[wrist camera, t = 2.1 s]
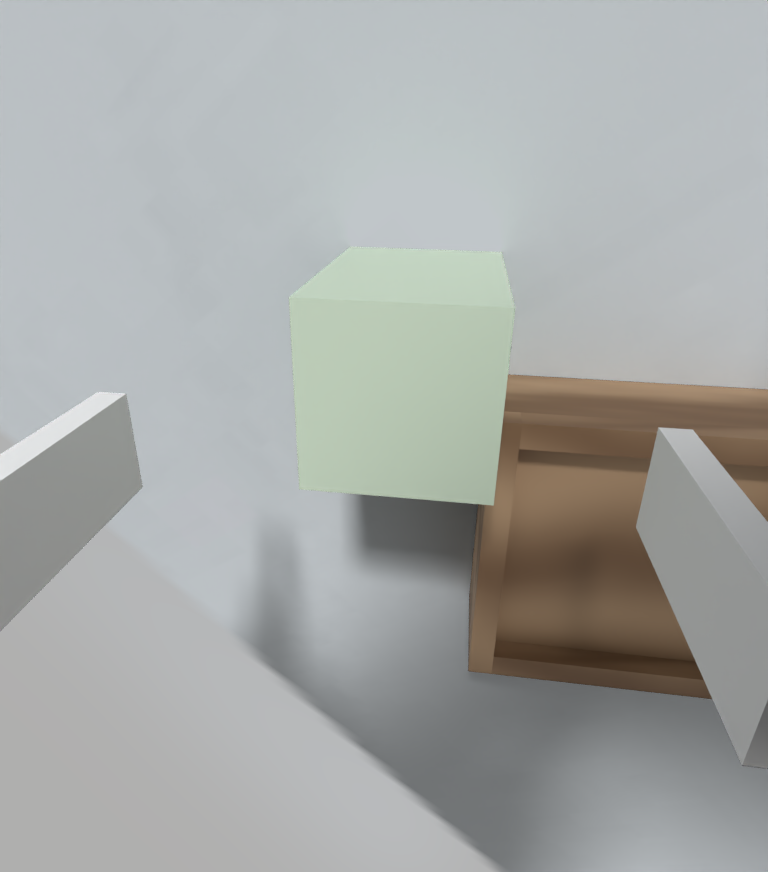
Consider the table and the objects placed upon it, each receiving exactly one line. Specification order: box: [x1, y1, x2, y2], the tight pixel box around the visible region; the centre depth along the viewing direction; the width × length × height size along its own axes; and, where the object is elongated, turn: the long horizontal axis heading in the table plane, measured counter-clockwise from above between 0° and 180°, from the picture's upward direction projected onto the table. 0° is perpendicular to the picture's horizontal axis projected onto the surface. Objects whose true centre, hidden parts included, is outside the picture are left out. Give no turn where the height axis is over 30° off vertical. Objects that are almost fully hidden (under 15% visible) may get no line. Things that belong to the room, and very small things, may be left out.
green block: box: [289, 247, 515, 505], centre depth 21 cm, size 6×6×9 cm
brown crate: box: [468, 375, 768, 699], centre depth 25 cm, size 12×12×5 cm
